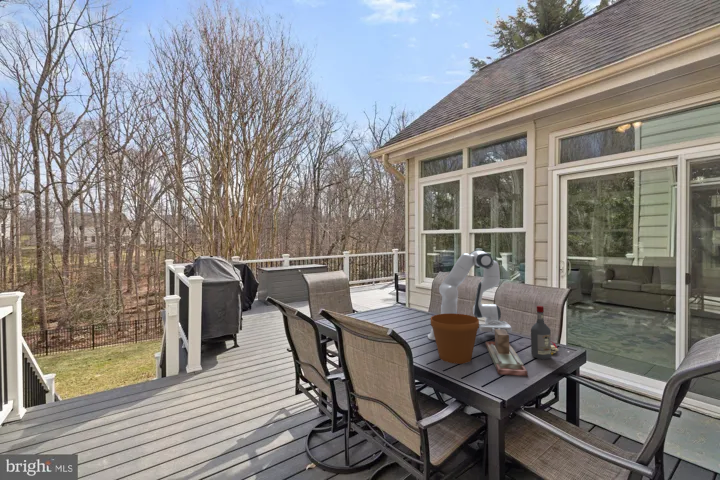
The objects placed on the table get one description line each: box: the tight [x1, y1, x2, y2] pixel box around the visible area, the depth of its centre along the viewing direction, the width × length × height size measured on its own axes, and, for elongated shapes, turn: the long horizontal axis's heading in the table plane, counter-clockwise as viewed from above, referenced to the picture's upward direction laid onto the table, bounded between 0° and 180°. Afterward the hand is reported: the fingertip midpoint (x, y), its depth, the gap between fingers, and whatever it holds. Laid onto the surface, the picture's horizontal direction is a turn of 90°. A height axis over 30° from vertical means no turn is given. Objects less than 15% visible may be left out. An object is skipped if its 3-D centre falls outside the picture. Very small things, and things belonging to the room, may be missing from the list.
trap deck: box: [485, 340, 528, 377], centre depth 197 cm, size 14×48×4 cm, turn 167°
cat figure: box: [551, 341, 559, 355], centre depth 212 cm, size 10×9×25 cm
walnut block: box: [494, 329, 510, 354], centre depth 203 cm, size 6×12×11 cm, turn 167°
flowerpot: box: [430, 313, 480, 365], centre depth 200 cm, size 28×28×24 cm
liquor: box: [530, 305, 552, 360], centre depth 198 cm, size 9×9×30 cm
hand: (497, 331), depth 220 cm, fingers closed
